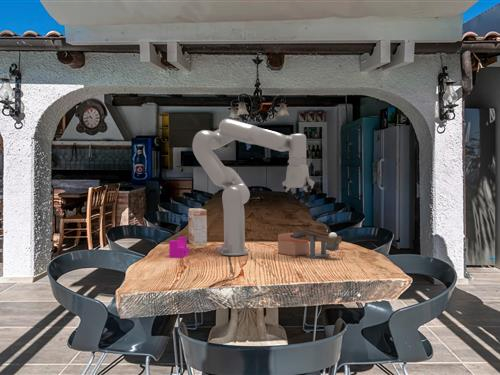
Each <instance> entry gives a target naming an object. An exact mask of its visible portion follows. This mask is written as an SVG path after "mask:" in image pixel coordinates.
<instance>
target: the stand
mask: <svg viewBox="0 0 500 375" xmlns="http://www.w3.org/2000/svg"><path fill="white" fill-rule="evenodd" d="M309 243H310V254H305V256H306V259H311V260H318V259H324V258H327V257H328V258H329V257H330V256H331V255H330V254H331V253H327V250H326V243H325V242H321V241H320V252H316V240H315V236H310V238H309Z"/></svg>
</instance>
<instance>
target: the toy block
mask: <svg viewBox="0 0 500 375" xmlns="http://www.w3.org/2000/svg"><path fill="white" fill-rule="evenodd" d="M187 238H188V237H187V236H186V237H185V236H178V237H177V240H173V239H172V240H169V241H168V248H169V250H168V252H169V253H168V254H169V255H168V256H169V258H171V259H172V258H174V259H175V258H176V259H177V258H178V259H184V258H185V257H186V256H188V255H190V246H188V239H187Z"/></svg>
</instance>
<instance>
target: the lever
mask: <svg viewBox="0 0 500 375" xmlns="http://www.w3.org/2000/svg"><path fill="white" fill-rule="evenodd" d="M329 234H330V233H325V232H321V231H318V230H314V229H310V228H308V227H307V228H306V227H303V228H302V229H299V228H296V229H295V232H294V234H292V235H290V237H292V238H294V239H302V238H307V239H310V236H315V241H318V242H320V243H321V242H325V243H326V251H329V252H330V251H331V252H334V251H339V248H340V244H342V237H341V236H340V235H337V237H333V238H330V237H329Z"/></svg>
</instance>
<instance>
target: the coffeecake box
mask: <svg viewBox="0 0 500 375" xmlns="http://www.w3.org/2000/svg"><path fill="white" fill-rule="evenodd" d="M187 211H188V212H187V213H188V215H187V217H188V218H187V219H188V243H189V244H191V245H192V246H193V247H200V246H203V247H204V246H206V247H207V245H208V227H207V224H208V223H207V222H208V219H207V218H208V217H207V213H208V211H207V209H204V208H196V207H195V208H188V210H187Z"/></svg>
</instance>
